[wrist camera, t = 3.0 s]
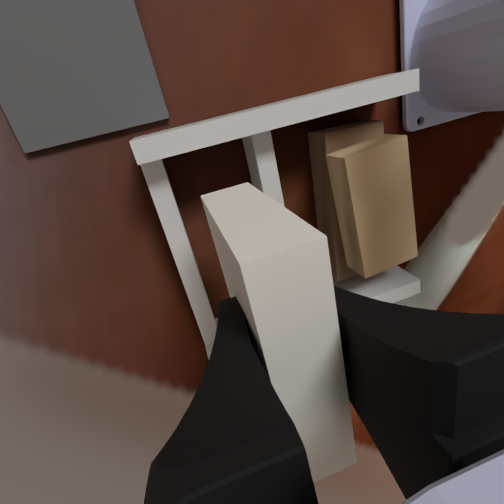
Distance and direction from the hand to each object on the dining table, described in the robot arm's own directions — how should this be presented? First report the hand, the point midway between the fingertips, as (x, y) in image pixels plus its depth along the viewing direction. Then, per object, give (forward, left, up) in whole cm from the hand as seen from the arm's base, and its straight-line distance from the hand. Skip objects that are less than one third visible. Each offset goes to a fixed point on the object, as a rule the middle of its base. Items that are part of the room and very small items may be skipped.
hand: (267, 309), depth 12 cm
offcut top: (-8, 0, -7) cm, 11 cm away
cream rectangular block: (0, 0, -3) cm, 3 cm away
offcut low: (-8, 0, -9) cm, 12 cm away
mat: (+5, -12, -9) cm, 16 cm away
